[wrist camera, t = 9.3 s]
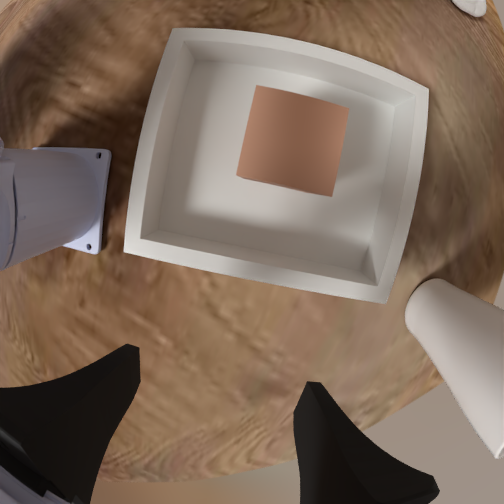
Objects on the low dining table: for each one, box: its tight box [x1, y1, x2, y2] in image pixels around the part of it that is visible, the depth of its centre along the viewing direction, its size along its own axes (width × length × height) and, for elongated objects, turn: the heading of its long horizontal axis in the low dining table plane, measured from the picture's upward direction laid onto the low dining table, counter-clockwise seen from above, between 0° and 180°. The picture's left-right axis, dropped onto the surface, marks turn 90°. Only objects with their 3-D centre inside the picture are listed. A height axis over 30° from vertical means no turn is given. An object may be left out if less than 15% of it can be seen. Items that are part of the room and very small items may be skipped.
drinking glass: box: [405, 278, 504, 459], centre depth 12 cm, size 7×7×15 cm
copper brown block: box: [236, 85, 349, 197], centre depth 13 cm, size 4×4×6 cm
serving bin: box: [124, 28, 429, 304], centre depth 15 cm, size 16×14×4 cm
